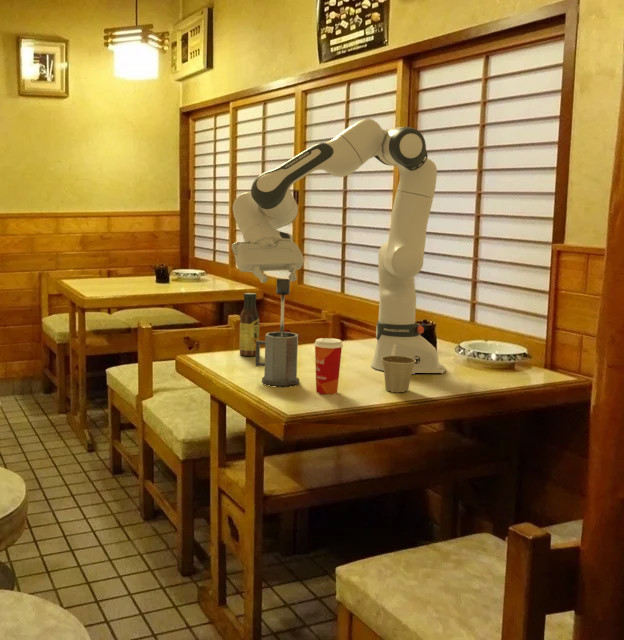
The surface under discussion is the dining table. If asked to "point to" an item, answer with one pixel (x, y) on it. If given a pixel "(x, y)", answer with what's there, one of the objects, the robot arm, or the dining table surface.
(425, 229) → the robot arm
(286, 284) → the plunger
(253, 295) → the sauce bottle
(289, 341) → the press pot
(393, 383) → the flower pot
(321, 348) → the paper cup
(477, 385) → the dining table surface
